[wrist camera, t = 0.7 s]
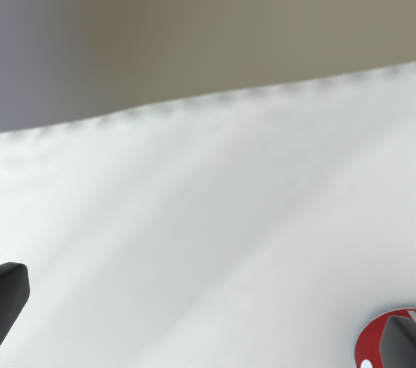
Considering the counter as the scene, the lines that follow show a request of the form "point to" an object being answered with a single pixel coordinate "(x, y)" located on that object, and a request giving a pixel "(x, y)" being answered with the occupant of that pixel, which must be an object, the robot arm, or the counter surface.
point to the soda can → (376, 337)
